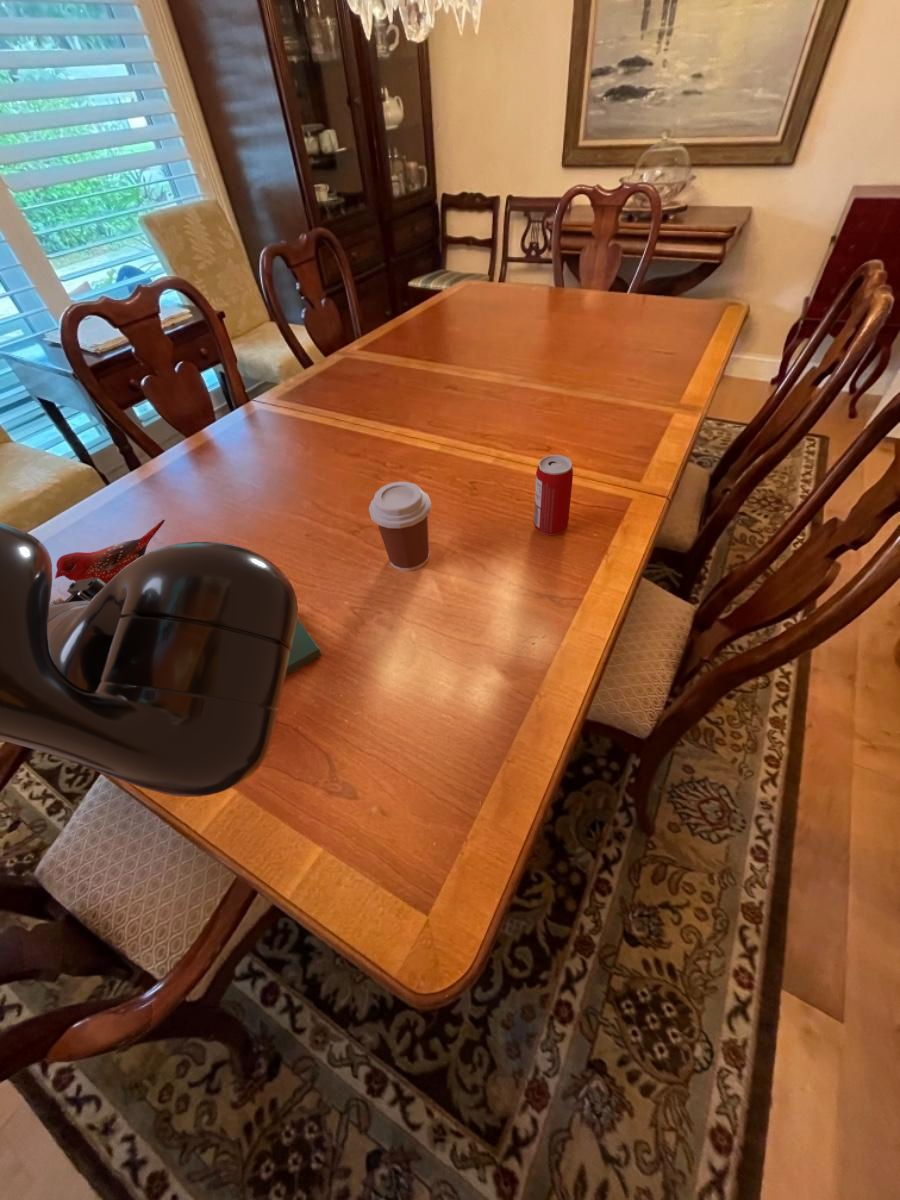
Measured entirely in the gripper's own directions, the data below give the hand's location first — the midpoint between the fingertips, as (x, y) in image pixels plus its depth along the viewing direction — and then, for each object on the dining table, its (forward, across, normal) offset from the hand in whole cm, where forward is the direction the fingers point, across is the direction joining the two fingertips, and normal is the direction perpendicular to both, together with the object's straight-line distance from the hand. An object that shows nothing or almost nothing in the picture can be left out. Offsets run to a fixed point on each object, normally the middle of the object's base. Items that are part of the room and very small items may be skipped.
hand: (8, 661), depth 44 cm
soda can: (-14, -55, +42) cm, 71 cm away
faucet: (+10, -17, +25) cm, 32 cm away
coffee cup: (+2, -41, +32) cm, 52 cm away
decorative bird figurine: (+38, -24, +12) cm, 47 cm away
